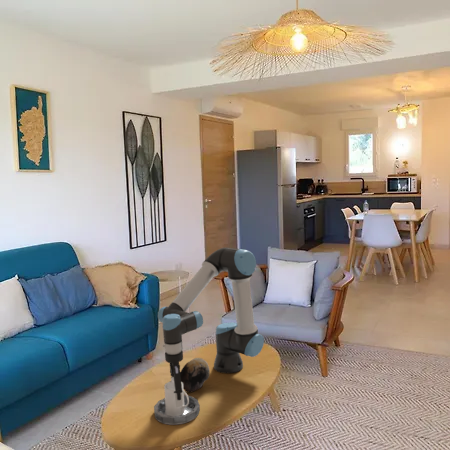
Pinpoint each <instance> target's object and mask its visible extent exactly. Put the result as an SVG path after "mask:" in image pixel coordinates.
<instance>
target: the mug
mask: <svg viewBox="0 0 450 450" xmlns="http://www.w3.org/2000/svg"><path fill="white" fill-rule="evenodd" d="M181 386H182V403H183V406H180V407H176V399H175V393H174V391H175V384H174V381H171V380H170V381H168V382H166V383H165V384H164V388H163V389H164V398H165V406H166V410H165V413H166V415H168V416H179V415H182V414H183V413H184V412H185V407H187V406H188V404H189V397H188V396H189V395H188V394H187V393H188V392H187V391H185V390H184V389H183V383H182V382H181ZM184 395H186V397H187V401H188V402H187V404H186V405H184Z"/></svg>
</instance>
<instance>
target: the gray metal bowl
mask: <svg viewBox="0 0 450 450" xmlns="http://www.w3.org/2000/svg"><path fill="white" fill-rule="evenodd" d="M188 397H189V404H188V406H187V407H185V412H184V413H183V414H182V415H179V416H168V415H166V413H165V410H166V406H165V397H164V398H161V399H160V400H158V401H157V402H156V404H155V405H154V406H153V411H154V412H153V413H154V418H155V420H156V421H158V422H159V423H161V424H164V425H169V426H177V425H178V426H179V425H184V424H187V423H189V422H191V421H193V420H195V419H196V418H197V417H198V416H199V414H200V412H201V411H200V410H201V409H200V408H201V407H200V403H199V400H198V399H197V398H195V397H193V396H192V395H188ZM187 402H188V401H187V397H186V395H185V394H184V405H186V404H187Z"/></svg>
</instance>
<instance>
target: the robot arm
mask: <svg viewBox="0 0 450 450" xmlns="http://www.w3.org/2000/svg"><path fill="white" fill-rule="evenodd" d="M256 259H257V258H256V257H255V255H254V253H252V252H251V251H250V250H247V249H243V248H242V249H241V248H232V247H220V248H219V249H217V250H215V251H213V252H211V254H210V255H208V256H207V258H205V259H204V261H202V264H201V267H200V268H199V269H198V271H197V272H196V273H195V274H194V276H192V278H191V279H190V280H189V282H188V283H187V284H186V285H185V286H184V288H183V289H182V290H181V291H180V292H179V293H178V295H176V297H175V299H173V300H172V302H171V303H170V304H169V305H168V306H163V307H161V308H160V309H159V310H158V312H157V319H158V321H159V322H161V323H162V333H163V343H164V344H163V345H162V347H163V348H164V359H165V360H164V361H165V362H166V363H169V373H170V381H174V384H175V391H174V393H175V399H176V407H180V406H183V403H182V386H181V377H180V372H181V365H180V362H182V361H183V360H184V352H183V349H184V348H183V338H182V337H183V335H185V334H188V333H191V332H192V331H196V330H197V329H199V328H201V327H202V326H203V324H204V318H203V315H202V314H201V312H199V311H198V310H195V311H190V312H187V310H188V309H189V308H190V306H191V305H193V303H194V302H195V301H196V300H197V298H198V297H199V296H200V294H202V292H203V291H204V289H205V288H206V287H208V285H209V283H210V282H211V281H212V280H213V279H214V277H217V276H219V274H220V273H222V272H226V273H227V277H228V279H229V280H230V281H231V284H232V293H233V302H234V311H235V320H236V322H232V321H231V322H224V323H221V324H217V326H216V328H215V345H216V347H215V348H216V355H215V359H214V362H213V369H214V370H215V372H218V373H221V374H222V373H223V374H232V373H233V374H234V373H238V372H240V371H241V370H242V369H243V367H244V362H243V358H242V357H241V355H245V356H246V357H251V358H254V357H257V356H258V355H259V354H260V353H261V352H262V349H263V347H264V345H265V339H264V336H263V335H262V334H260V333H259V329H258V326H257V325H256V324H255V319H254V310H253V300H252V289H251V281H250V280H251V278H252V277H253V274H254V272H255V271H256V268H257V260H256Z"/></svg>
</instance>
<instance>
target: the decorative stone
mask: <svg viewBox="0 0 450 450" xmlns="http://www.w3.org/2000/svg"><path fill="white" fill-rule="evenodd" d="M210 374H211V373H210V366H209V363H208V362H207V361H206V359H204V358H202V357H195V358H193V359H191V360H189V361H188V362H186V364H184V365H183V367H182V368H181V369H180V377H181V382H182V383H183V389H184V391H185V392H186V393H194V392H196V391H198V390H200V389H201V388H202V386H203V385H204V383H205V382H206V381H207V380H208V379H209V378H210Z"/></svg>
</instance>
